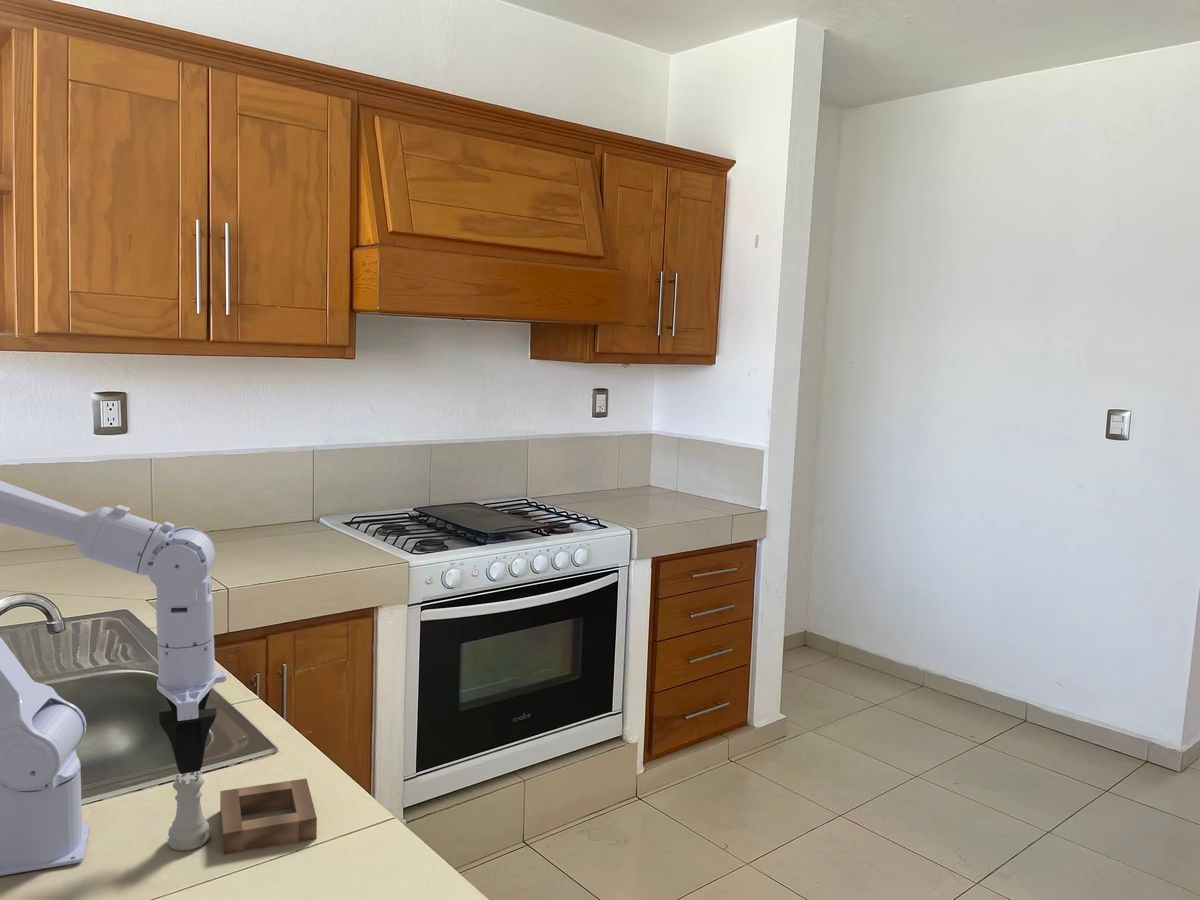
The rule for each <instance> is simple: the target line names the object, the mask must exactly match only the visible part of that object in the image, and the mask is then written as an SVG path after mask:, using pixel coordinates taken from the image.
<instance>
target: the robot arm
mask: <svg viewBox="0 0 1200 900" xmlns="http://www.w3.org/2000/svg"><path fill="white" fill-rule="evenodd" d="M130 511H131V508H130V507H127V506H124V505H122V504H117V505H116V506H115V507H114V508H111V507H108V506H102V507H100V508H98V509H96V510H93V511H89V512H87V511H84V510H81V509H79V508H75V507H73V506H70V505H67V504H65V503H62V502H61V501H57V500H54V499H52V498H49V497H46V496H44V495H41V494H38V493H36V492H35V493H34V492H32V491H30V490H27V489H24V488H21V487H19V486H17V485H13V484H10V483H8V482H5V481H3V480H0V524H4V525H8V526H11V527H16V528H20V529H24V530H27V531H31V532H34V533H38V534H43V535H46V536H50V537H54V538H58V539H62V540H65V541H70V542H71V543H73V544H75V546H76V548H77V550H78V551H79V553H80V554H81V556H82V557H84V558H85V559H89V560H91V561H95V562H98V563H101V564H105V565H108V566H112V567H114V568H118V569H121V570H123V571H124V570H125V571H128V572H131V573H134V574H137V575H141V576H148V578H149V579H150V581H151V583H153V585H155V587H156V602H155V609H156V612H155V613H156V614H155V616H156V636H157V637H156V639H157V663H158V664H157V665H158V667H157V671H158V678H157V680H156V689H157V690H158V692H160V694H162V695H163V696H164V697H165V699H166V701H167V703H168V704H169V707H170V710H166V711H159V713H158V722H159V725H160V727H161V729H162V730H163V731H164V732H165V734H166V735H167V738H168V740H169V742H170V744H171V747H172V748H171V749H172V752H173V754H174V755H173V756H174V760H175V762H176V763H175V764H176V767H177V770H178V772H179V774H181V775H182V774H184V773H187V774H191V772H195V773H196V772H198V771H199V772H200V771H201V769H202V765H203V762H204V756H205V751H206V743H207V739H208V735H209V733H210V730H211V727H212V725H213V723H214V722H215V719H216V717H217V714H218V713H217V707H213V708H212V707H211V708H206V705H207V701H208V699H209V696H210V693H211V692H212V689H213V687H214V686H215V685H216V684H218V683H219V684H220V683H225V682H226V681H227V672H226V670H216V668H215V667H216V663H215V662H216V659H215V631H214V630H215V629H214V628H215V626H214V625H215V624H214V598H213V595H212V586H213V585H212V577H211V576H212V575H211V574H210V573H208V572H209V570H211V568H212V566H213V564H214V561H215V558H216V547H215V543H214V542H213V540H212V539H211V537H210V536H209V535H207V534H206V533H205V532H203V531H202V530H199V529H197V528H196V527H194V526H189V525H188V526H180V527H178V528H175V524H174V523H172V522H169V521H165V522H164V523H163V524H161V523H158V522H155V521H152V520H149V519H147V518H144V517H140V516H137V515H135V514H130ZM174 528H175V529H174ZM86 732H87V720H86V717H85V715H84V713H83V712H82V710H81V709H80V708H79V707H78V706H76V705H75V704H73V703H71V702H69V701H67V700H65V699H64V698H62V697H61V696H59V694H58V693H57V692H56V691H55V689H54V687H51V686H50V685H46V684H44V683H40V682H37V681H35V680H33V678H32V677H31V676H30V675H29V674H28V672H27V670H26V669H25V668H24V667H23V665H22V664H21V662H20V661H19V660H18V658H17V657H16V656H15V654H14V653H13V652H12V650H11V649H10V648H9V647H8V645H7V644H6V643H5V641H4V640H3V638H2V637H1V636H0V877H1V876H7V875H12V874H19V873H26V872H30V871H37V870H43V869H48V868H49V869H50V868H55V867H61V866H68V865H72V864H74V865H75V864H79V863H81V862H83V861H84V858H85V852H86V847H87V846H86V845H87V843H88V842H87V840H88V836H89V831H90V823H89V822H83V816H82V815H83V814H82V812H83V810H82V777H81V775H82V773H81V769H82V768H81V767H82V766H81V760H80V759H79V757H78V755H77V749H76V747H77V746H78V745H80V744H81V742H82V740H83V739H84V737H85V736H86Z"/></svg>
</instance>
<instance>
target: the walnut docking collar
mask: <svg viewBox="0 0 1200 900" xmlns="http://www.w3.org/2000/svg"><path fill="white" fill-rule="evenodd" d="M308 783H309V781H308V778H299V779H294V780H287V781H280V782H273V783H266V784H259V785H252V786H246V787H239V788H238V787H237V788H233V789H225V790H220V791H219V792H220V795H219V797H220V805H219V806H220V810H219V811H220V820H221V821H220V823H221V826H220V827H221V838H222V839H221V840H222V851H223V852H222V853H223V855H227V854H235V853H240V852H245V851H251V850H257V849H263V848H269V847H274V846H279V845H280V846H281V845H286V844H291V843H297V842H303V841H309V840H314V839H317V836H318V835H317V832H318V828H317V827H318V822H317V821H318V819H317V818H318V817H317V813H316V809H315V806H314V802H313V797H312V795H311V790H310V787H309V784H308ZM290 808H291V812H292V813H285V814H279V815H273V816H266V817H260V818H254V819H247V820H242V816H247V815H252V814H259V813H265V812H271V811H277V810H285V809H290Z"/></svg>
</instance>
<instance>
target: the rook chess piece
mask: <svg viewBox="0 0 1200 900" xmlns="http://www.w3.org/2000/svg"><path fill="white" fill-rule="evenodd" d="M204 783H205V779H204V778H203V777H201V772H200V771H197V772H191V773H184V774H180V773H177V775H176V779H175V781H174V782H173V783H172V788H173V789H174V790H175V791H176V793H177V794H175V797H174V800H175V801H176V812H175V816H174V820H173V821H172V825H171V826H170V827H169V829H168V831H167V832H168V834H167V836H168V838H167V845H169V846H170V847H171V849H173V850H175V851H178V852H179V851H180V852H186V851H194V850H196V849H199V848H201V847H202V846H204V845H205V844H206V843H207V841H208V840H209V839H210V837H211V832H210V831H209V830H210V824H209V822H208V821H207V820H206V817H205V816H204V815H203V809H202V806H201V805H202V804H201V798H202V796H203V793H202V791H201V788H202V786H203V785H204Z"/></svg>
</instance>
